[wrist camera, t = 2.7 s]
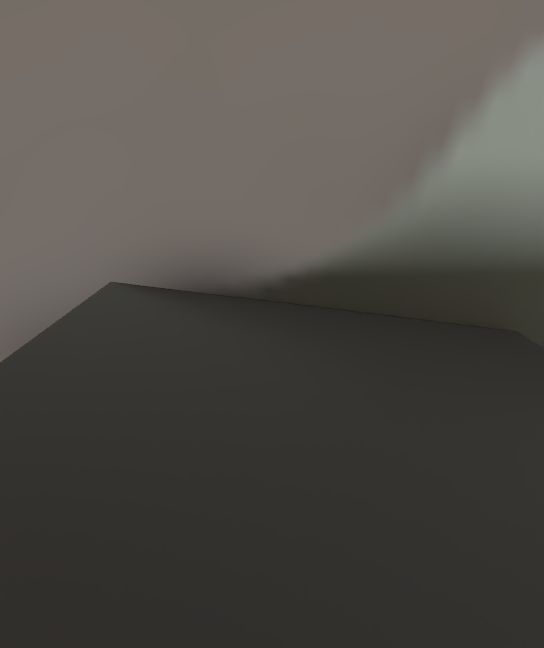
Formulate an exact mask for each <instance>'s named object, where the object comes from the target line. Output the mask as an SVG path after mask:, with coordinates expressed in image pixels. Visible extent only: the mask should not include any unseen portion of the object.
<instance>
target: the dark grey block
mask: <svg viewBox="0 0 544 648" xmlns="http://www.w3.org/2000/svg"><path fill="white" fill-rule="evenodd" d="M0 648H544V348H542V347H541V346H539V345H537V344H536V343H534V342H533V341H531V340H529V339H528V338H526V337H525V336H523V335H522V334H520V333H518V332H513V331H505V330H497V329H489V328H481V327H473V326H465V325H457V324H449V323H440V322H432V321H424V320H416V319H408V318H400V317H392V316H384V315H376V314H367V313H359V312H351V311H343V310H335V309H327V308H319V307H311V306H302V305H294V304H286V303H278V302H270V301H262V300H254V299H246V298H238V297H229V296H221V295H213V294H205V293H197V292H189V291H181V290H173V289H164V288H156V287H148V286H140V285H131V284H124V283H116V282H110V283H108V284H107V285H106V286H104V287H103V288H102V289H100V290H99V291H97V292H96V293H95V294H94V295H92V296H91V297H89V298H88V299H87V300H85V301H84V302H82V303H81V304H80V305H79V306H77V307H76V308H74V309H73V310H72V311H70V312H69V313H67V314H66V315H65V316H63V317H62V318H61V319H59V320H58V321H56V322H55V323H54V324H52V325H51V326H50V327H48V328H47V329H46V330H44V331H43V332H41V333H40V334H39V335H37V336H36V337H35V338H33V339H32V340H31V341H29V342H28V343H26V344H25V345H24V346H22V347H21V348H20V349H18V350H17V351H15V352H14V353H13V354H11V355H10V356H9V357H7V358H6V359H5V360H3V361H2V362H0Z"/></svg>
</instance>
